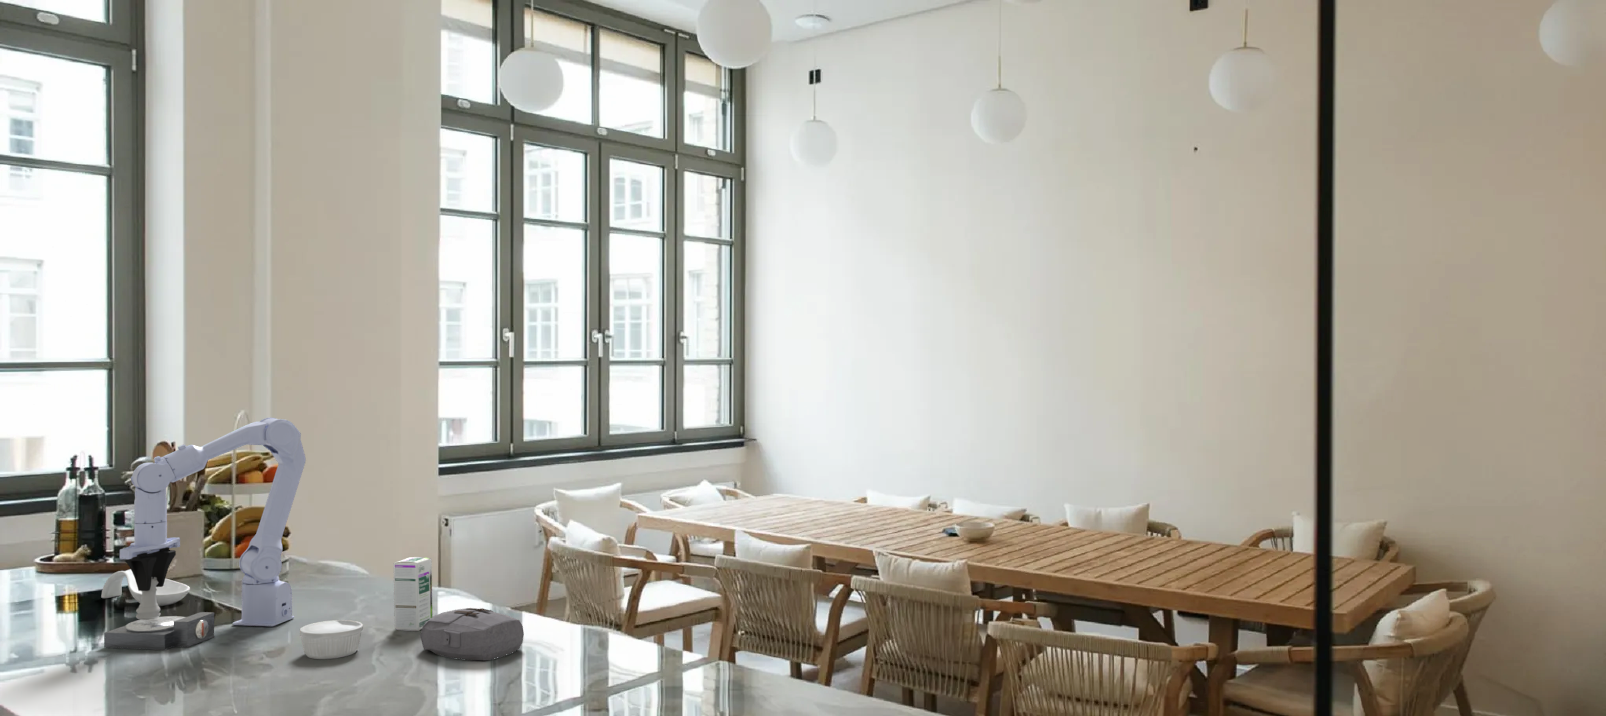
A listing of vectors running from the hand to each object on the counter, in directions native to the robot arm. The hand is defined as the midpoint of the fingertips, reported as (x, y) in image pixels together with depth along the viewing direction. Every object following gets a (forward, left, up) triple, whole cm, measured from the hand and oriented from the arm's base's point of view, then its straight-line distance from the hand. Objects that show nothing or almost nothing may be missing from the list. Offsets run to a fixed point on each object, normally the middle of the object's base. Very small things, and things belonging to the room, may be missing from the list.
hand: (150, 588), depth 224 cm
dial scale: (-4, +1, -10) cm, 11 cm away
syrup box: (-49, -16, -10) cm, 52 cm away
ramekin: (-43, +5, -10) cm, 44 cm away
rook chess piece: (+1, 0, -6) cm, 6 cm away
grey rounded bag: (-68, 0, -11) cm, 69 cm away
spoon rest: (+26, -31, -11) cm, 42 cm away
